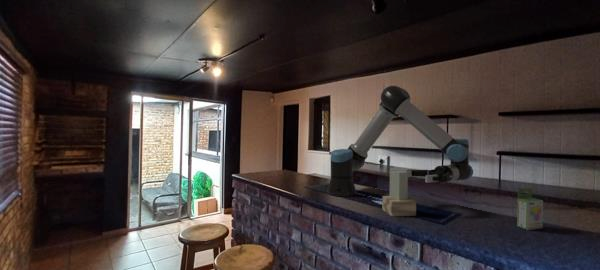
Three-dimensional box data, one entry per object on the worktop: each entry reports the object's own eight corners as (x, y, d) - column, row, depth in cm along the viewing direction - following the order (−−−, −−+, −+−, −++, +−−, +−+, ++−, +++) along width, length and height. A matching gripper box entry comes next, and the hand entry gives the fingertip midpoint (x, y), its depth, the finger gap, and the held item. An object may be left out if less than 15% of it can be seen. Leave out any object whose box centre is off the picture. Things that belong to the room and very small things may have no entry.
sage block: (389, 197, 121) (389, 171, 120) (397, 196, 123) (398, 170, 123) (399, 200, 116) (399, 173, 116) (407, 198, 119) (407, 172, 118)
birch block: (382, 209, 124) (382, 196, 124) (404, 209, 125) (405, 195, 125) (391, 216, 114) (391, 201, 114) (416, 216, 115) (416, 201, 115)
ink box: (528, 230, 98) (528, 191, 97) (516, 226, 101) (517, 188, 101) (543, 228, 100) (543, 190, 99) (531, 225, 103) (531, 187, 103)
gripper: (472, 186, 121) (438, 191, 112) (422, 177, 143) (391, 181, 134) (472, 168, 121) (438, 171, 111) (423, 162, 143) (391, 164, 134)
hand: (412, 176), depth 123 cm, fingers open, 13 cm apart
